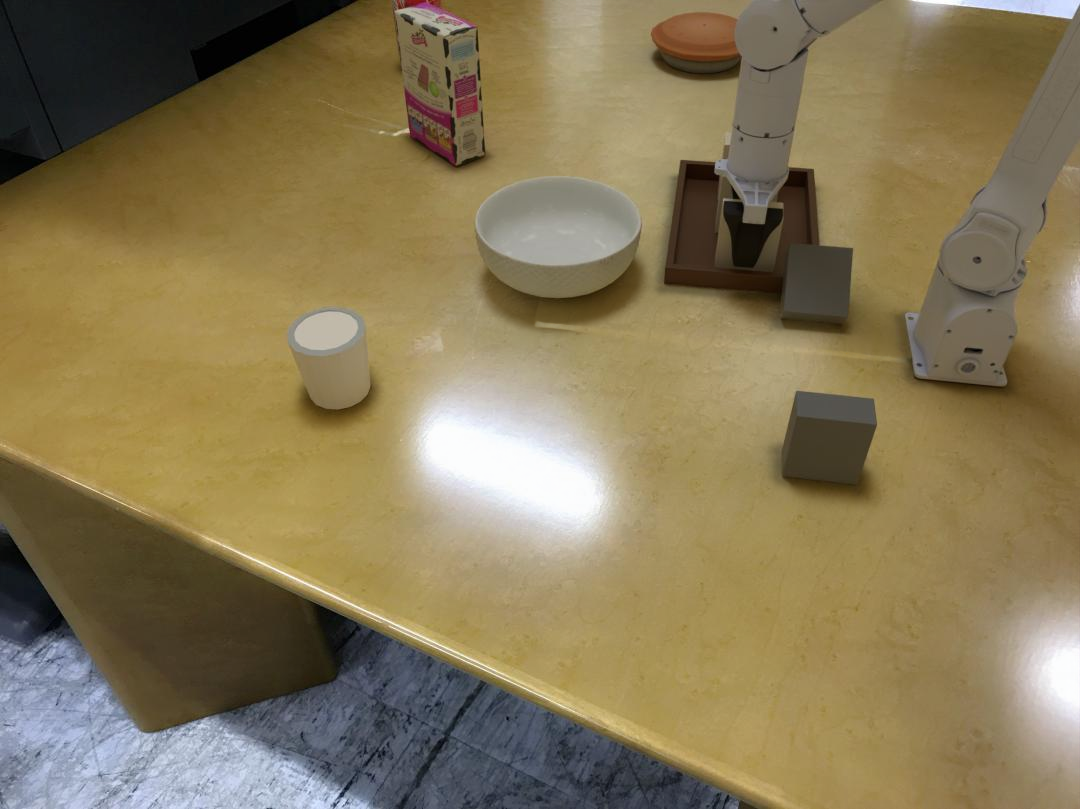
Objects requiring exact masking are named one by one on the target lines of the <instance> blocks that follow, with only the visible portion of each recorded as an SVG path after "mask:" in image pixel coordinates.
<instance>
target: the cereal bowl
mask: <svg viewBox="0 0 1080 809" xmlns="http://www.w3.org/2000/svg"><path fill="white" fill-rule="evenodd" d="M642 220H643V219H642V215H641V212H640V210H639V209H638V206H637V204H636V203H635V202H634V201H633V200H632V199H631V198H630V197H629V196H628V195H627V194H625V193H624V192H622V191H620V190H619V189H617V188H615V187H613V186H611V185H608V184H606V183H604V182H602V181H601V182H600V181H597V180H594V179H589V178H585V177H578V176H569V175H566V176H565V175H551V176H550V175H549V176H539V177H532V178H528V179H523V180H520V181H516V182H513V183H511V184H508V185H505V186H504V187H501V188H500V189H497V191H494V192H493V193H492V194H490V195H489V196H488V197H487V198H486V199H485V200H483V202H482V203H481V204H480V206H479V207H478V209H477V211H476V213H475V218H474V232H475V240H476V246H477V248H478V252H479V254H480V257H481V258H482V261H483V263H484V264H485V265H486V267H487V269H488V270H489V271H490V272H491V273H492V274H493V275H494V276H495V277H496V278H497V279H498V280H499V281H501V282H502V283H503V284H504V285H507V286H508V287H510V288H512V289H514V290H516V291H519V292H521V293H524V294H528V295H530V296H535V297H540V298H547V299H563V298H565V299H566V298H567V299H568V298H575V297H581V296H584V295H589V294H592V293H594V292H597V291H599V290H602V289H603V288H606V287H608V285H611V284H613V283H614V282H615V281H616V280H617V279H619V278H620V277H621V276H622V275H624V274H625V272H626V271H627V270H628V268H629V267H630V265H631V264H632V262H633V260H634V259H635V256H636V254H637V251H638V248H639V245H640V240H641V234H642V228H643V221H642Z"/></svg>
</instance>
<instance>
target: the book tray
mask: <svg viewBox="0 0 1080 809" xmlns="http://www.w3.org/2000/svg"><path fill="white" fill-rule="evenodd" d="M715 162H716V161H705V160H689V159H680V160H679V166H678V174H677V182H676V187H675V195H674V203H673V210H672V216H671V224H670V232H669V238H668V244H667V245H668V246H667V251H666V252H667V253H666V260H665V267H664V277H663V284H664V285H675V286H676V285H677V286H687V287H696V288H697V287H698V288H708V289H709V288H710V289H711V288H712V289H720V290H731V291H732V290H733V291H743V292H754V293H767V294H775V295H782V286H783V274H784V263H785V254H786V251H787V249H788V246H789V244H790V243H795V244H807V245H820V232H819V220H818V219H819V218H818V206H817V193H816V192H817V191H816V180H815V179H816V178H815V168H808V167H807V168H806V167H794V166H793V167H792V166H789V174H788V178H787V180H786V182H785V183H784V184H783V186H782V187H781V188H780V190H779V191H778V195H777V201H776V202H779V203H783V216H784V219H783V224H782V229H781V235H780V240H779V245H778V250H777V255H776V261H775V266H774V271H773V272H764V271H752V270H741V269H729V268H717V267H715V255H716V248H717V240H718V233H715V224H716V214H717V206H718V200H717V198H718V186H719V178H720V175H717V174H715V172H714V171H715ZM820 246H821V245H820Z"/></svg>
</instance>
